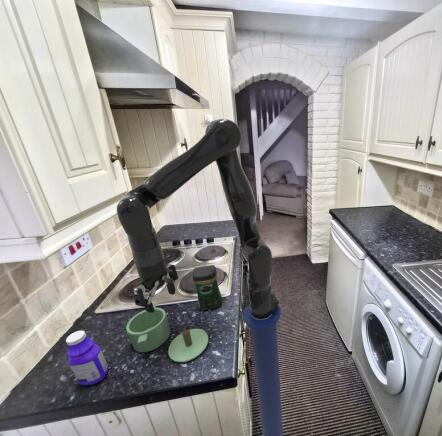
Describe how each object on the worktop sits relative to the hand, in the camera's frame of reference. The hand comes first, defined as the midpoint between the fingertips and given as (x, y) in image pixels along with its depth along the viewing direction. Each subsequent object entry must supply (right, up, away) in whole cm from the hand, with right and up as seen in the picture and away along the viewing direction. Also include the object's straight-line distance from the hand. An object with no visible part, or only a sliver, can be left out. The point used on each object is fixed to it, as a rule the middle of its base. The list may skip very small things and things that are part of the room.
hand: (162, 302), depth 74 cm
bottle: (-19, -22, -3) cm, 30 cm away
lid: (+6, -17, +6) cm, 19 cm away
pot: (-9, -17, +10) cm, 22 cm away
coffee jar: (+7, -10, +26) cm, 29 cm away
